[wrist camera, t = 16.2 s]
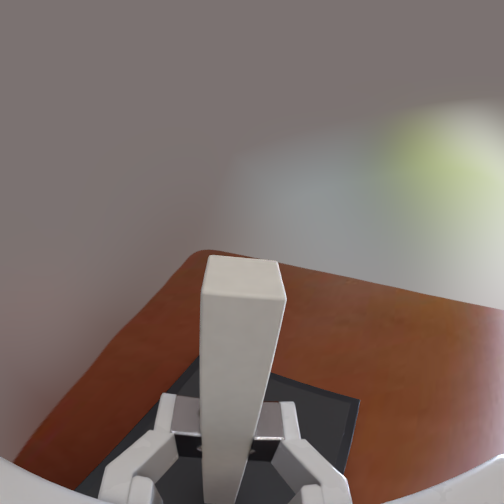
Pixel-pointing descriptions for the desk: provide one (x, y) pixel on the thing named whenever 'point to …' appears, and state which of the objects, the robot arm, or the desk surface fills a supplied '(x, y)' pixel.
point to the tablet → (256, 473)
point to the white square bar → (235, 364)
